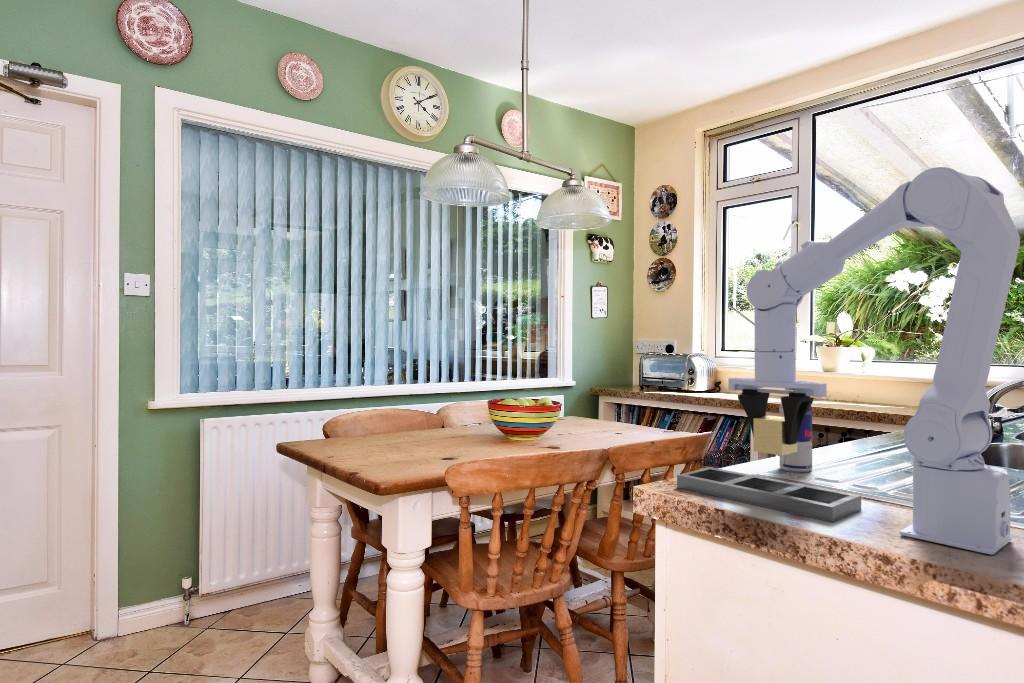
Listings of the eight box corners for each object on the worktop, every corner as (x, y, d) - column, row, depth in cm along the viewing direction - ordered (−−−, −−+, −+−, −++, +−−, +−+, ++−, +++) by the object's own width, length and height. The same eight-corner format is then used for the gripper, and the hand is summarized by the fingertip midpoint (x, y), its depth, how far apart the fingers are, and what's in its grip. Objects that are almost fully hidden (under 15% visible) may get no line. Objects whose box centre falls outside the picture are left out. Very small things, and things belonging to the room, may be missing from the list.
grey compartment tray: (861, 509, 90) (861, 495, 90) (832, 522, 84) (832, 507, 84) (709, 478, 109) (708, 467, 109) (677, 487, 103) (677, 475, 103)
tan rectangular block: (797, 451, 96) (797, 418, 96) (782, 455, 93) (782, 421, 93) (769, 447, 100) (769, 415, 100) (753, 451, 97) (753, 418, 97)
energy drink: (815, 473, 112) (815, 405, 112) (783, 472, 113) (783, 404, 113) (808, 466, 117) (807, 401, 117) (776, 465, 118) (776, 401, 118)
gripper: (836, 351, 93) (836, 444, 93) (745, 349, 104) (745, 432, 105) (813, 353, 89) (813, 451, 89) (720, 350, 100) (720, 437, 100)
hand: (774, 441), depth 97 cm, fingers closed on tan rectangular block, 4 cm apart
